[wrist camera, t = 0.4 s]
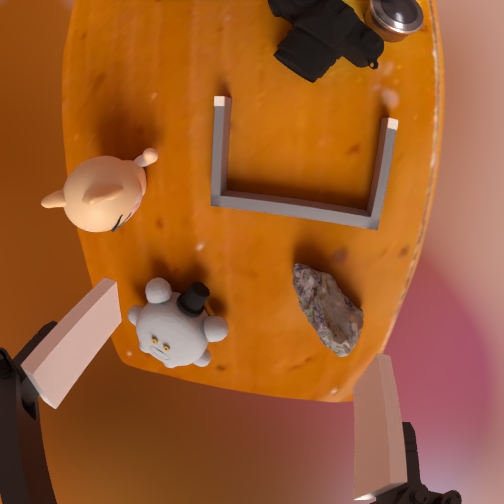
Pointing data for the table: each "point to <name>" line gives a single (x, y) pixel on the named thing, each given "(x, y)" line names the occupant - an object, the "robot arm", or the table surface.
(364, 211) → the bracket
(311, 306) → the mineral rock
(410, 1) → the lens
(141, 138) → the table surface
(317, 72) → the film camera
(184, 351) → the figurine
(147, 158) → the kitten
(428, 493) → the robot arm
